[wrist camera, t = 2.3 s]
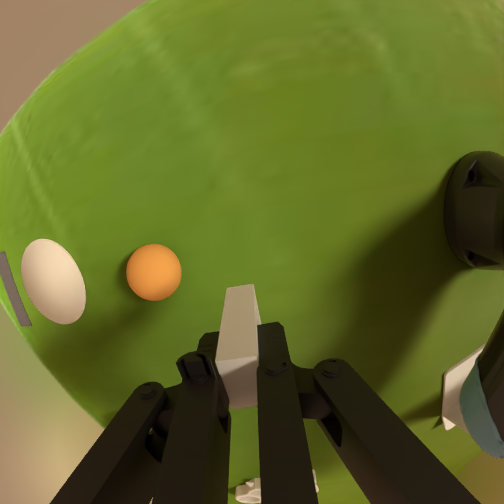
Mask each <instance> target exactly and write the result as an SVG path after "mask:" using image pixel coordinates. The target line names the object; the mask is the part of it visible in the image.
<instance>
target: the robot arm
mask: <svg viewBox="0 0 504 504" xmlns="http://www.w3.org/2000/svg"><path fill="white" fill-rule="evenodd" d="M444 221H445V229H446V234H447V238H448V241H449V244H450V246H451V248H452V250H453V252H454V253H455V255H456V256H457V257H458V258H459V259H460V260H462V261H463V262H465V263H467V264H468V265H470V266H472V267H474V268H477V269H484V270H504V157H503V156H501V155H500V154H498V153H495V152H490V151H475V152H471V153H469V154H467V155H466V156H465V157H464V158H462V159H461V161H460V162H459V163H458V164H457V166H456V167H455V169H454V171H453V173H452V175H451V178H450V181H449V184H448V187H447V191H446V197H445V206H444ZM176 365H177V367H178V369H179V372H180V374H181V376H182V379H183V380H182V383H181V384H178V385H176V386H172V387H169V388H165V389H164V387H163V386H162V385H161V384H160V383H158V382H147V383H144V384H142V385H140V386H138V387H137V388H136V389H135V390H134V392H133V393H132V394H131V396H130V397H129V398H128V400H127V401H126V402H125V404H124V405H123V406H122V408H121V409H120V410H119V411H118V413H117V414H116V415H115V417H114V418H113V419H112V421H111V422H110V423H109V425H108V426H107V427H106V429H105V430H104V431H103V433H102V434H101V435H100V437H99V438H98V439H97V441H96V442H95V443H94V445H93V446H92V447H91V449H90V450H89V451H88V453H87V454H86V455H85V457H84V458H83V459H82V461H81V462H80V463H79V465H78V466H77V467H76V469H75V470H74V471H73V473H72V474H71V475H70V477H69V478H68V479H67V481H66V482H65V484H64V485H63V486H62V488H61V489H60V490H59V492H58V493H57V495H56V496H55V497H54V499H53V500H52V501H51V503H50V504H149V503H150V501H151V499H152V497H153V500H152V504H227V501H228V477H229V455H230V434H231V415H230V412H229V403H230V406H231V409H238V408H248V407H256V406H258V431H259V458H260V486H261V504H318V498H317V493H316V487H315V481H314V476H313V470H312V465H311V460H310V454H309V449H308V444H307V438H306V433H305V428H304V423H303V418H307V419H317V422H318V423H319V425H320V427H321V428H322V430H323V431H324V433H325V435H326V436H327V438H328V439H329V441H330V442H331V444H332V446H333V447H334V449H335V450H336V452H337V453H338V455H339V456H340V458H341V459H342V461H343V463H344V464H345V466H346V467H347V469H348V470H349V472H350V473H351V475H352V476H353V478H354V479H355V481H356V482H357V484H358V485H359V487H360V488H361V490H362V491H363V493H364V494H365V496H366V497H367V499H368V500H369V502H370V503H371V504H481V503H480V502H479V501H478V500H477V499H476V498H474V496H473V495H472V494H471V493H470V492H469V491H468V490H467V489H466V488H465V487H464V486H463V485H462V484H461V483H460V482H459V481H458V480H457V478H456V477H455V476H454V475H453V474H452V473H451V472H450V471H449V470H448V469H447V468H446V467H445V466H444V465H443V464H442V463H441V462H440V461H439V460H438V459H437V458H436V456H435V455H434V454H433V453H432V452H431V451H430V450H429V449H428V448H427V447H426V446H425V445H424V444H423V443H422V442H421V441H420V440H419V439H418V437H417V436H416V435H415V434H414V433H413V432H412V431H411V430H410V429H409V428H408V427H407V426H406V425H405V424H404V423H403V422H402V421H401V420H400V418H399V417H398V416H397V415H396V414H395V413H394V412H393V411H392V410H391V409H390V408H389V407H388V406H387V405H386V404H385V403H384V401H383V400H382V399H381V398H380V397H379V396H378V395H377V394H376V393H375V392H374V391H373V390H372V389H371V388H370V387H369V385H368V384H367V383H366V382H365V381H364V380H363V379H362V378H361V377H360V376H359V375H358V374H357V373H356V372H355V371H354V369H353V368H352V367H351V366H350V365H349V364H348V363H347V362H345V361H344V360H340V359H327V360H323V361H321V362H319V363H318V364H317V365H316V366H315V367H314V369H305V368H300V367H297V366H296V365H294V364H293V363H292V362H291V360H290V356H289V351H288V346H287V342H286V337H285V332H284V327H283V326H282V325H281V324H280V323H279V322H272V323H267V324H261V321H260V316H259V311H258V306H257V300H256V295H255V290H254V285H253V284H248V285H242V286H236V287H230V288H227V291H226V297H225V303H224V309H223V315H222V321H221V327H220V331H218V332H211V333H205V334H204V335H203V336H202V337H201V339H200V340H199V344H198V348H197V351H194V352H189V353H187V354H185V355H183V356H181V357H180V358H179V359H178V360H177V362H176ZM459 404H460V410H461V413H462V416H463V421H464V423H465V425H466V428H467V430H468V431H469V433H470V435H471V436H472V438H473V439H474V441H475V442H476V443H477V444H478V446H479V447H480V448H481V449H482V450H483V451H485V452H486V453H487V454H489V455H490V456H492V457H495V458H499V457H500V458H504V310H503V312H502V314H501V316H500V318H499V320H498V322H497V324H496V326H495V328H494V330H493V332H492V334H491V336H490V338H489V339H488V341H487V343H486V345H485V347H484V348H483V350H482V352H481V353H480V354H479V355H478V357H477V358H476V360H475V364H474V366H473V368H472V369H471V371H470V373H469V374H468V376H467V378H466V379H465V381H464V382H463V385H462V387H461V390H460V396H459ZM151 428H152V429H151ZM150 430H151V431H150ZM149 431H150V432H149Z"/></svg>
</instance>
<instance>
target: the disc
mask: <svg viewBox="0 0 504 504" xmlns="http://www.w3.org/2000/svg"><path fill="white" fill-rule="evenodd" d="M21 271H22V279H23V283H24V286H25V289H26V292H27V294H28V296H29V298H30V300H31V301H32V303H33V304H34V305H35V307H36V308H37V309H38V310H39V311H40V312H41V313H42V314H43V315H44V316H45V317H47V318H48V319H50V320H51V321H53V322H56V323H59V324H71V323H73V322H75V321H77V320H78V319H79V318H80V317H81V315H82V314H83V311H84V309H85V305H86V289H85V284H84V280H83V277H82V274H81V272H80V270H79V268H78V266H77V264H76V262H75V261H74V259H73V258H72V256H71V255H70V254H69V253H68V252H67V250H65V249H64V248H63V247H62V246H61V245H59V244H58V243H56V242H54V241H52V240H49V239H38V240H35V241H33V242H32V243H30V244H29V245H28V247H27V248H26V250H25V252H24V254H23V258H22V264H21Z"/></svg>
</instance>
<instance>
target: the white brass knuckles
mask: <svg viewBox="0 0 504 504" xmlns="http://www.w3.org/2000/svg"><path fill="white" fill-rule="evenodd" d="M312 470H313V469H312ZM313 476H314V481H315V487H316V493H317V492H318V491H319V488H318V486H317V485H316V483H317V481H316V476H315V471H314V470H313ZM245 483H246V484H244V485H240V486H237V487H236V494H235V498H236V500H237V501H239V502H243V503H261V486H260V478H254V479H252V480H250V481H248V482H245Z"/></svg>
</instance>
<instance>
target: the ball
mask: <svg viewBox="0 0 504 504" xmlns="http://www.w3.org/2000/svg"><path fill="white" fill-rule="evenodd" d="M181 273H182V272H181V265H180V262H179V260H178V258H177V256H176V255H175V254H174V253H173V252H172V251H171V250H170V249H169V248H167V247H165V246H163V245H159V244H148V245H144V246H142V247H140V248H139V249H137V250H136V251H135V252H134V253H133V254H132V255H131V257H130V259H129V261H128V264H127V268H126V275H127V281H128V283H129V285H130V287H131V289H132V290H133V291H134V292H135V293H136V294H137V295H138V296H140V297H141V298H143V299H146V300H150V301H159V300H162V299H165V298H167V297H169V296H170V295H172V294H173V293H174V292H175V290H176V289H177V288H178V286H179V283H180V281H181Z"/></svg>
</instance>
